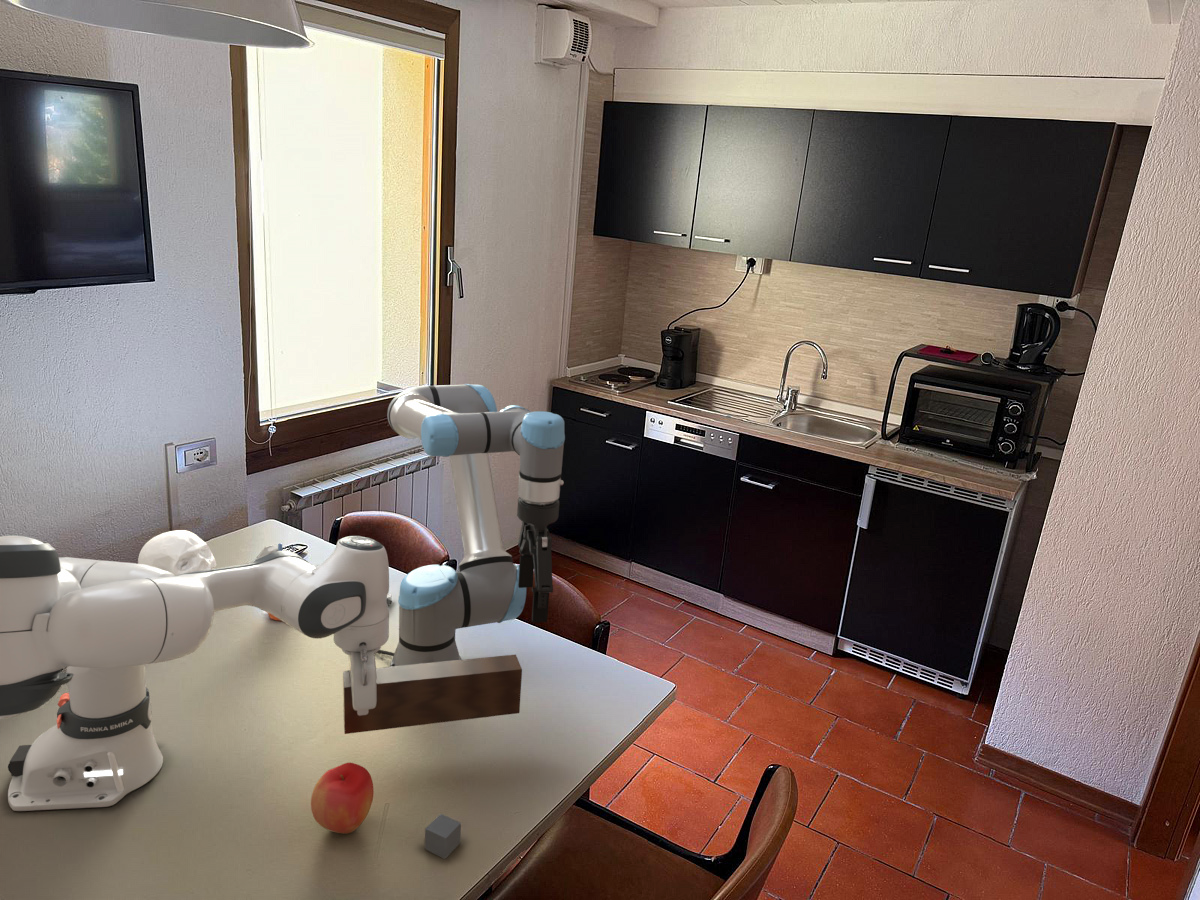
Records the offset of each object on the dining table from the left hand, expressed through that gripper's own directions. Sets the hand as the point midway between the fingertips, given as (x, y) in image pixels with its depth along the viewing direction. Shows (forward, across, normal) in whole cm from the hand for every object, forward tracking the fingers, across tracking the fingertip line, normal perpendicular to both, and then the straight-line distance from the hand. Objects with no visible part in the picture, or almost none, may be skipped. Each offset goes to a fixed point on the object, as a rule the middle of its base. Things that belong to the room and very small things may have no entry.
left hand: (361, 701), depth 145 cm
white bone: (+16, +83, +14) cm, 86 cm away
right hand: (-11, +9, -31) cm, 35 cm away
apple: (+15, -11, +3) cm, 19 cm away
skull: (+16, +76, +37) cm, 86 cm away
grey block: (+15, -19, -11) cm, 27 cm away
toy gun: (+15, +69, -5) cm, 71 cm away
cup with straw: (+16, +62, +15) cm, 66 cm away
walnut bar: (+4, 0, -12) cm, 13 cm away
